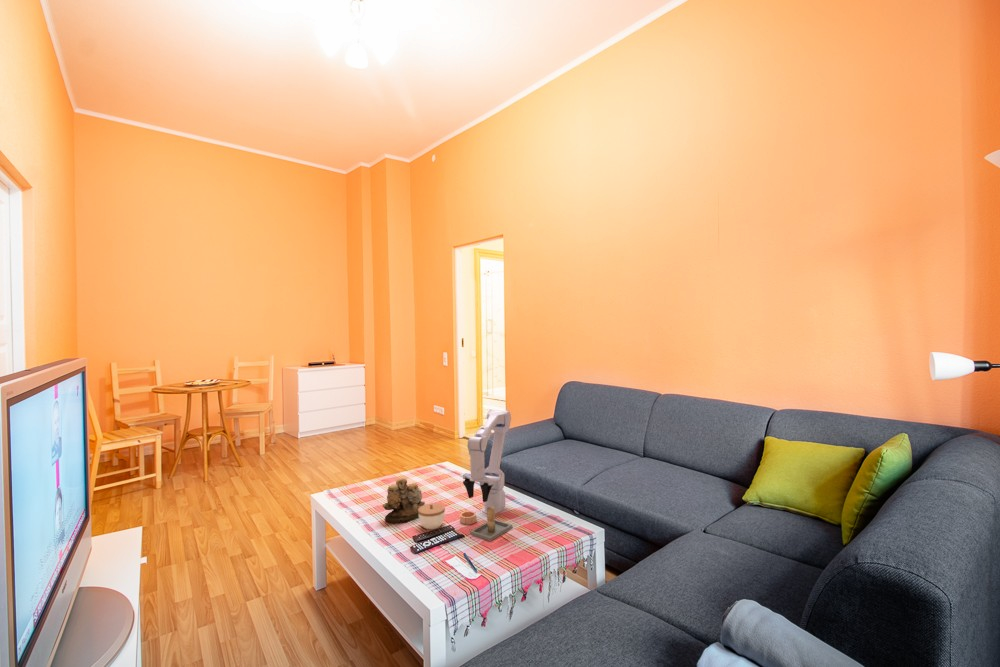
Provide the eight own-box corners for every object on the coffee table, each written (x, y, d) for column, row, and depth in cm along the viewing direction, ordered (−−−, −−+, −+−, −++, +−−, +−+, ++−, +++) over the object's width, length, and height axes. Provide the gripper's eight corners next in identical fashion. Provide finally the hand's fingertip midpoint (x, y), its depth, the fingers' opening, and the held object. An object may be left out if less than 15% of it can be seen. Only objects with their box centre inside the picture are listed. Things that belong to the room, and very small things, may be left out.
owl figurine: (386, 527, 190) (385, 486, 190) (379, 517, 201) (378, 478, 200) (428, 517, 199) (427, 477, 199) (419, 508, 209) (418, 470, 209)
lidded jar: (420, 534, 183) (419, 511, 183) (417, 523, 193) (416, 501, 193) (447, 531, 186) (446, 507, 185) (443, 520, 196) (442, 498, 196)
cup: (467, 517, 198) (467, 509, 198) (479, 521, 194) (479, 513, 194) (456, 522, 193) (456, 515, 193) (468, 526, 189) (468, 519, 189)
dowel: (490, 528, 185) (489, 506, 185) (496, 530, 184) (496, 507, 183) (486, 531, 183) (485, 508, 183) (492, 533, 181) (491, 510, 181)
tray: (492, 523, 192) (492, 518, 192) (512, 529, 186) (512, 524, 186) (470, 535, 181) (470, 531, 181) (490, 542, 175) (490, 538, 175)
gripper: (457, 465, 192) (458, 498, 192) (484, 471, 183) (485, 506, 183) (469, 461, 197) (469, 493, 197) (496, 467, 188) (496, 500, 189)
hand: (478, 499), depth 191 cm, fingers open, 7 cm apart
